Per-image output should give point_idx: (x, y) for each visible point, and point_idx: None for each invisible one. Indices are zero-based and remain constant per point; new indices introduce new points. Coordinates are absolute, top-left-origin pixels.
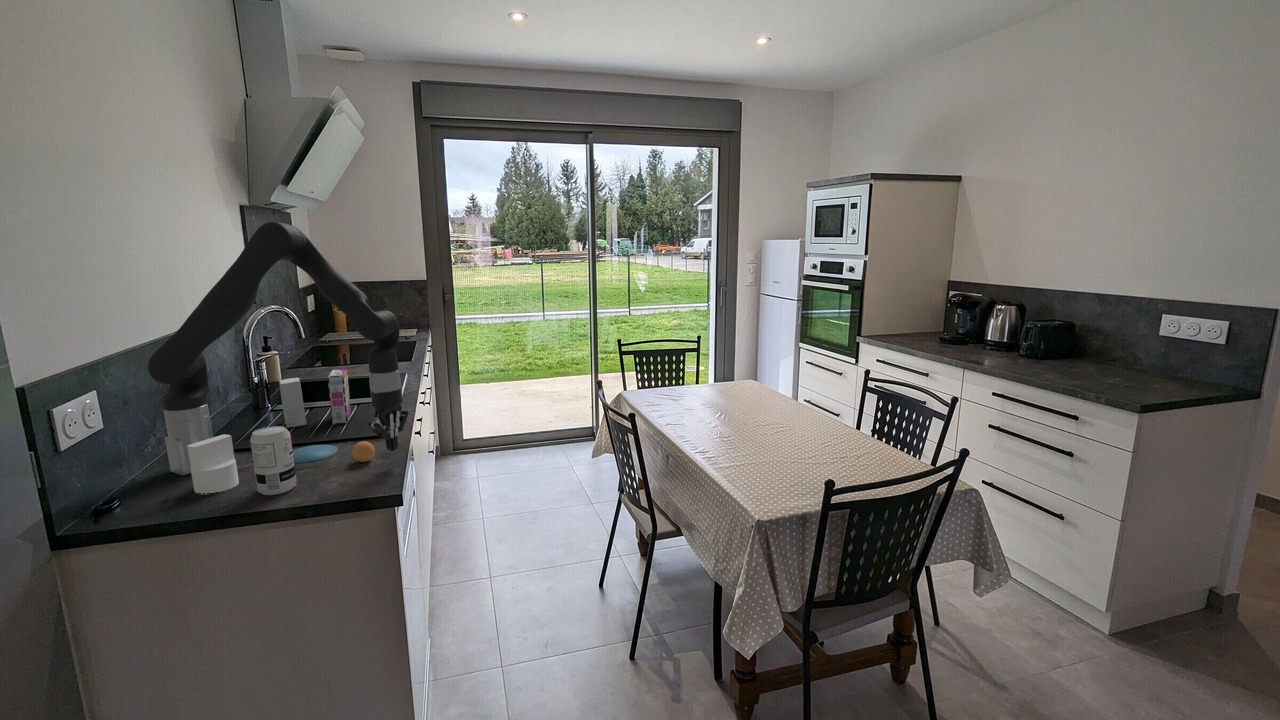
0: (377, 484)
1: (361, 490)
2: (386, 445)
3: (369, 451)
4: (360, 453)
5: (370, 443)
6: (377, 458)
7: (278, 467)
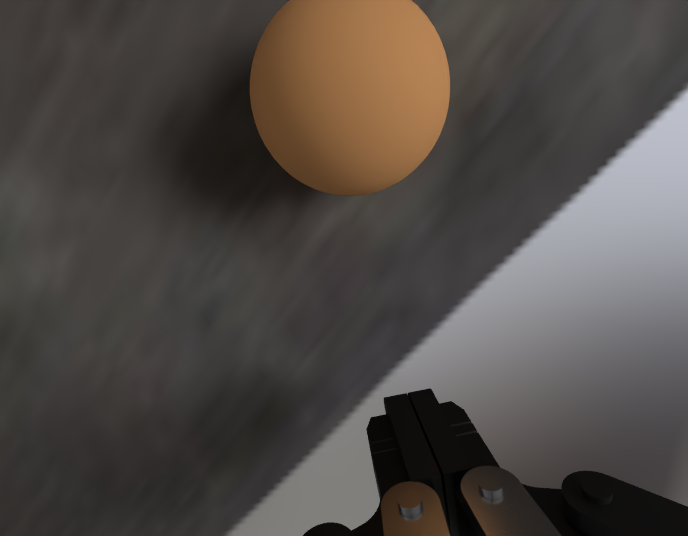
0: (138, 505)
1: (34, 503)
2: (371, 445)
3: (344, 195)
4: (274, 157)
5: (420, 132)
6: None
7: None
